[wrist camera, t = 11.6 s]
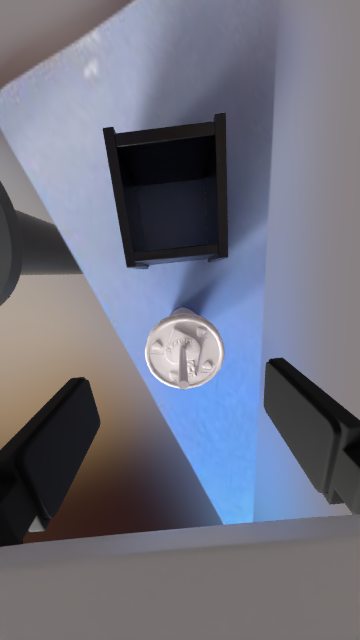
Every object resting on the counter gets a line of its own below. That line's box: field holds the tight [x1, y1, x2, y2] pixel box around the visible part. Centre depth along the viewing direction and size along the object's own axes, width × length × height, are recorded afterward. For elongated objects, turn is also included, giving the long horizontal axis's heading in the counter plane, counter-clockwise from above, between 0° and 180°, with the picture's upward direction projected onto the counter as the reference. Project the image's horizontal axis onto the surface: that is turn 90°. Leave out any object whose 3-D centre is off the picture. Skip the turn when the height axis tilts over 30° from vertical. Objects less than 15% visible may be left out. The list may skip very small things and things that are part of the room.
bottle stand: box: [103, 113, 228, 269], centre depth 16 cm, size 9×10×6 cm
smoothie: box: [145, 308, 224, 390], centre depth 16 cm, size 6×6×14 cm
